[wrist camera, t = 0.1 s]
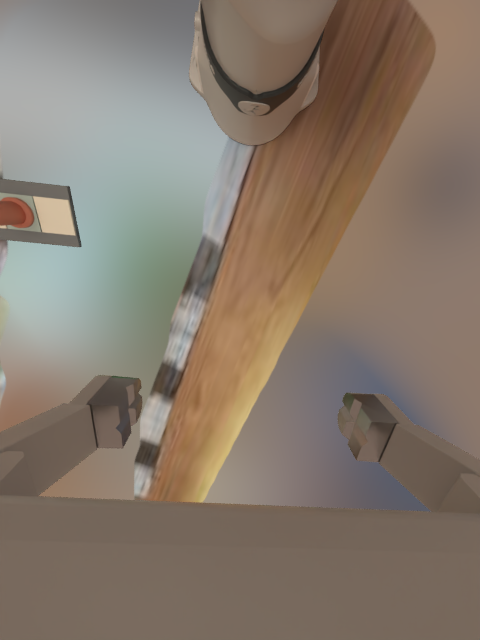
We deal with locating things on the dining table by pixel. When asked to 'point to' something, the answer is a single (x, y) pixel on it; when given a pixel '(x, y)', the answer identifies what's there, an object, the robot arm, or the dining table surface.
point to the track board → (43, 214)
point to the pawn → (15, 213)
